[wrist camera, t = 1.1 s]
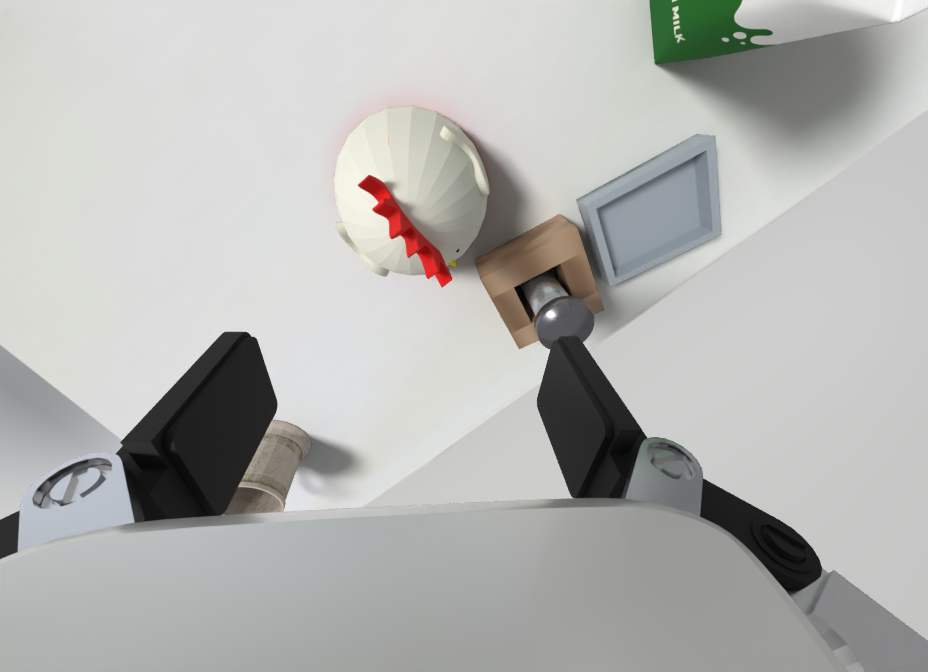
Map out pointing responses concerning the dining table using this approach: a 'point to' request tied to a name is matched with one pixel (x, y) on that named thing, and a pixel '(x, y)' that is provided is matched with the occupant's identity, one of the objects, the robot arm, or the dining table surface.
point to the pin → (556, 310)
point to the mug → (271, 470)
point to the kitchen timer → (410, 192)
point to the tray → (654, 210)
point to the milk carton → (761, 23)
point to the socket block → (537, 273)
